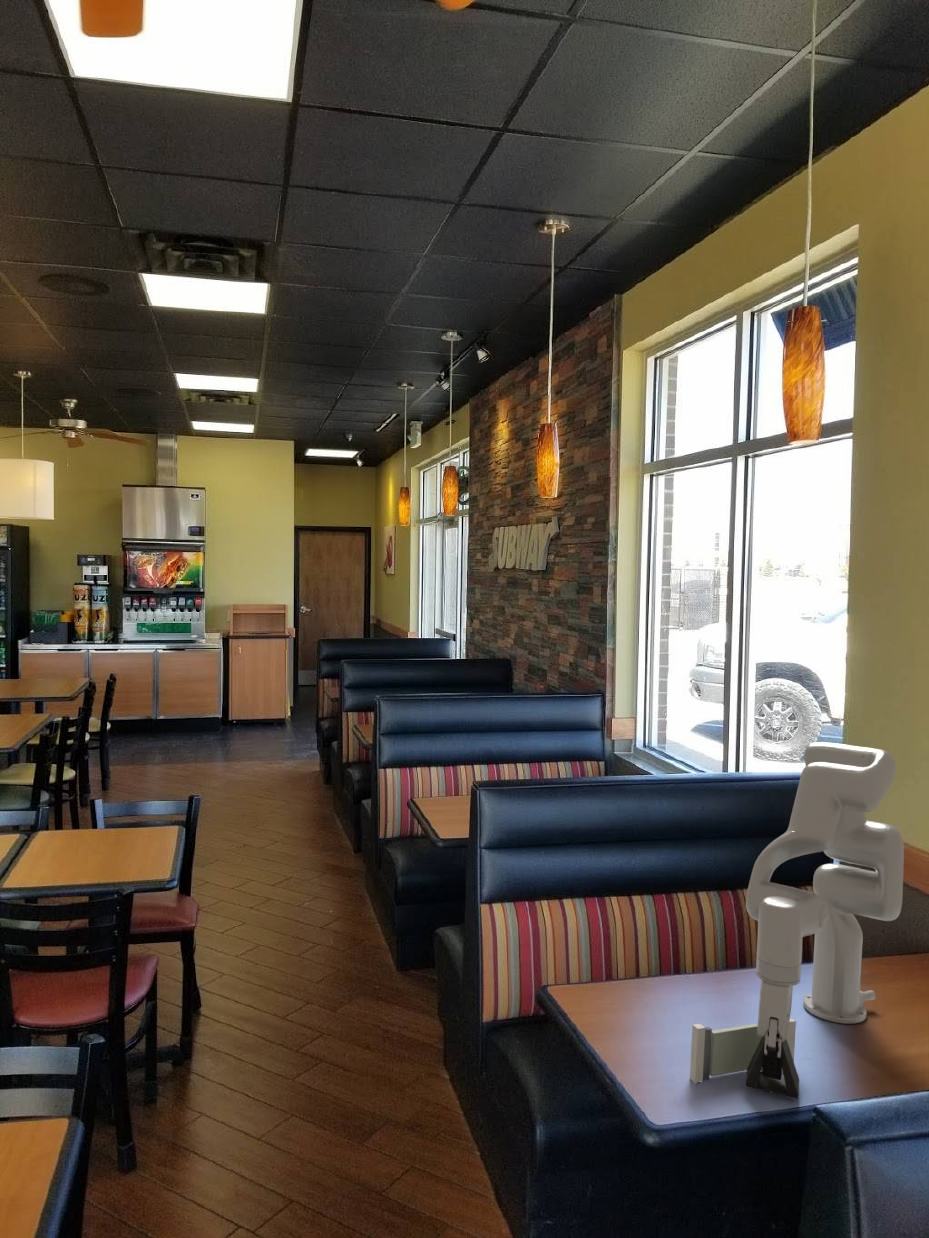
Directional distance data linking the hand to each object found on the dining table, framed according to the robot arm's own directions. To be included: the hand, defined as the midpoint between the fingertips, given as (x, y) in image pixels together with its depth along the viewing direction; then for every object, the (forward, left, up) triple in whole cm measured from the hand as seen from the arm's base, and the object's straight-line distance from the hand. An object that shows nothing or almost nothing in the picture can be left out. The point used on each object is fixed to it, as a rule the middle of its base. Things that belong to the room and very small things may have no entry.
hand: (773, 1067), depth 159 cm
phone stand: (0, 0, -3) cm, 3 cm away
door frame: (+1, -7, -4) cm, 8 cm away
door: (+2, -7, -4) cm, 8 cm away
